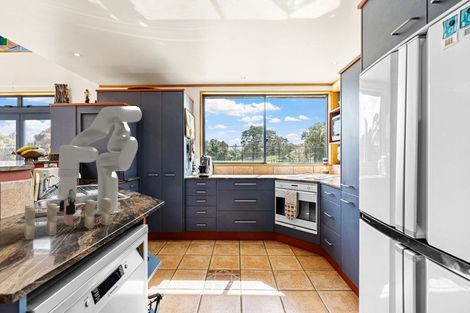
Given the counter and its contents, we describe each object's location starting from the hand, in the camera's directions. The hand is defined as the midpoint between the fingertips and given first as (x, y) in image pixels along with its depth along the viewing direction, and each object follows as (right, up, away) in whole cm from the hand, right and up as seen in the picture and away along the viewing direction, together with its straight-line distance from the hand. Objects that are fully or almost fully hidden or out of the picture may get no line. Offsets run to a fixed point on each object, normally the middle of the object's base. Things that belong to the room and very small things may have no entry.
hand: (66, 212), depth 107 cm
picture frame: (-15, -6, +12) cm, 20 cm away
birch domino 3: (+12, -5, -4) cm, 14 cm away
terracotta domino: (0, -5, +1) cm, 5 cm away
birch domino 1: (-1, -5, -19) cm, 19 cm away
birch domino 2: (+3, -5, -14) cm, 15 cm away
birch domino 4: (+16, -5, +1) cm, 17 cm away
